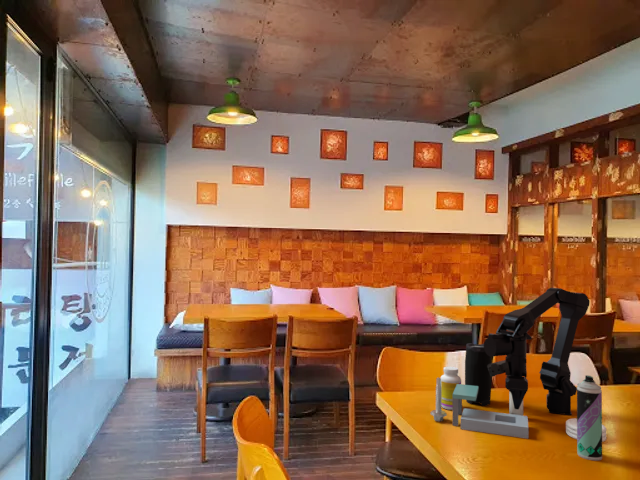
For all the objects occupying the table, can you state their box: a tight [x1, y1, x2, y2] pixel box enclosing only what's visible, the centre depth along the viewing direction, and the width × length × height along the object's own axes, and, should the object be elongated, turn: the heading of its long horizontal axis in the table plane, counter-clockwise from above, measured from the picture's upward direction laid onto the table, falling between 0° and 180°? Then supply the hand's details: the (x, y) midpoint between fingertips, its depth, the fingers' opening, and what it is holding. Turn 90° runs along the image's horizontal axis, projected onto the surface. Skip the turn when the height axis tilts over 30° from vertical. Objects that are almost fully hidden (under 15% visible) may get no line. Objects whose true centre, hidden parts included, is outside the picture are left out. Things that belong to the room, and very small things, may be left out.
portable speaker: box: [464, 342, 492, 407], centre depth 163 cm, size 9×9×20 cm
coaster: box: [565, 417, 607, 443], centre depth 134 cm, size 10×10×4 cm
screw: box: [430, 376, 448, 423], centre depth 145 cm, size 13×5×5 cm
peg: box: [508, 390, 524, 416], centre depth 148 cm, size 4×4×9 cm
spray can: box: [576, 374, 603, 461], centre depth 120 cm, size 6×6×20 cm
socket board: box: [460, 407, 529, 439], centre depth 139 cm, size 18×10×3 cm, turn 68°
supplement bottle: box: [440, 366, 462, 411], centre depth 157 cm, size 7×7×13 cm
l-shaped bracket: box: [452, 383, 478, 427], centre depth 145 cm, size 6×12×9 cm, turn 158°
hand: (516, 404), depth 148 cm, fingers open, 9 cm apart
